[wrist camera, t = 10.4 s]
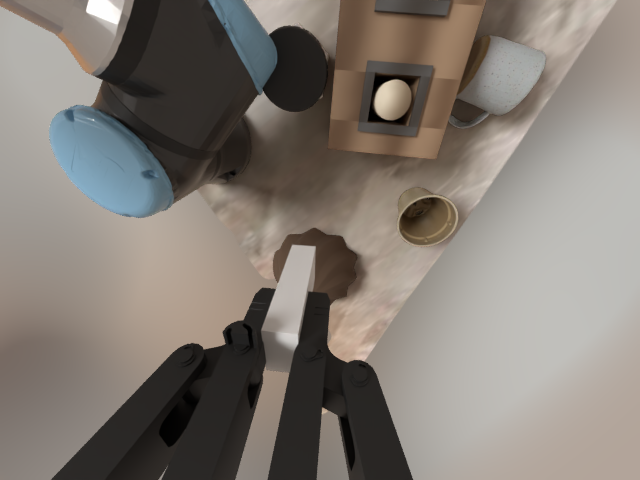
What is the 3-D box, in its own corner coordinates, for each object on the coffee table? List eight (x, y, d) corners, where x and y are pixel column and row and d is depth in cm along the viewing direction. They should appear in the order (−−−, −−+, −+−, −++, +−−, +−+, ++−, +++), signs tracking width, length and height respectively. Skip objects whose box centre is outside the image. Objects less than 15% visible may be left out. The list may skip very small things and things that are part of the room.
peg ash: (365, 113, 38) (372, 118, 28) (370, 83, 36) (379, 78, 26) (391, 115, 38) (406, 121, 28) (397, 85, 36) (415, 81, 26)
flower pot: (414, 232, 50) (427, 256, 42) (379, 208, 48) (385, 228, 40) (451, 197, 45) (471, 216, 38) (413, 168, 43) (427, 183, 36)
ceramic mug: (469, 37, 33) (498, 23, 27) (522, 56, 34) (563, 48, 27) (429, 118, 39) (446, 123, 33) (475, 134, 40) (501, 142, 33)
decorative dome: (376, 261, 54) (381, 291, 46) (322, 307, 63) (318, 340, 55) (307, 210, 49) (299, 234, 41) (260, 268, 58) (245, 297, 50)
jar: (339, 63, 37) (345, 69, 27) (306, 109, 41) (302, 128, 31) (290, 12, 33) (278, -1, 24) (260, 68, 37) (240, 76, 28)
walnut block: (332, 136, 42) (327, 149, 31) (350, -64, 30) (353, -156, 19) (413, 143, 41) (437, 160, 30) (465, -57, 29) (535, -147, 18)
